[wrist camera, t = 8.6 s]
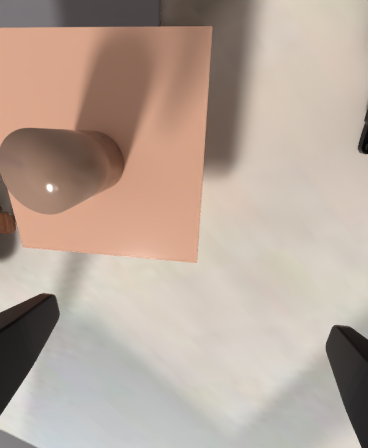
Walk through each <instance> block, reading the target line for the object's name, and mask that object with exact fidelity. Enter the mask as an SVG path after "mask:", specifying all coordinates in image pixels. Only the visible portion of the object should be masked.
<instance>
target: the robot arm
mask: <svg viewBox="0 0 368 448" xmlns="http://www.w3.org/2000/svg"><path fill="white" fill-rule="evenodd" d="M364 121H365V126H364V129H363V132H362V136H361V139H360V142H359V145H358V150H359V152H360V153H363V154H368V149H367V150H366V145H367V144H368V110H367V113H366V116H365V120H364ZM59 315H60V312H59V308H58V303H57V299H56V296H55V295H53V294H46V293H42V294H39V295H37V296H35V297H33V298H31V299H28V300H26V301H24V302H22V303H20V304H18V305H16V306H13V307H11V308H9V309H7V310H5V311H3V312H1V313H0V415H1V414H2V412H3V411H4V409H5V408H6V406H7V405H8V403H9V402H10V400H11V399H12V397H13V396H14V394H15V393H16V391H17V390H18V388H19V387H20V385H21V384H22V382H23V380H24V379H25V377H26V376H27V374H28V373H29V371H30V370H31V368H32V367H33V365H34V363H35V361H36V360H37V358H38V356H39V354H40V353H41V351H42V349H43V347H44V345H45V343H46V342H47V340H48V338H49V336H50V334H51V332H52V331H53V329H54V327H55V325H56V323H57V321H58V319H59ZM326 353H327V356H328V359H329V362H330V365H331V368H332V371H333V374H334V377H335V380H336V383H337V386H338V389H339V392H340V395H341V398H342V401H343V404H344V406H345V409H346V412H347V414H348V417H349V419H350V421H351V424H352V426H353V428H354V431H355V433H356V435H357V438H358V440H359V442H360V445H361V447H362V448H368V339H366V338H365V337H364V336H362V335H361V334H360V333H358V332H357V331H355V330H354V329H353V328H351V327H349V326H342V325H334V326H333V327H332V329H331V332H330V334H329V337H328V340H327V342H326Z"/></svg>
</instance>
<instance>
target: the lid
mask: <svg viewBox="0 0 368 448" xmlns="http://www.w3.org/2000/svg"><path fill="white" fill-rule="evenodd" d="M211 46H212V26H165V27H30V28H0V174H1V177H2V179H3V182H4V184H5V185H6V187H7V189H8V193H9V197H10V201H11V204H12V208H13V212H14V215H15V219H16V223H17V227H18V230H19V234H20V238H21V242H22V245H23V247H26V248H38V249H49V250H60V251H71V252H82V253H93V254H104V255H115V256H127V257H138V258H149V259H160V260H171V261H182V262H193V263H197V257H198V242H199V227H200V212H201V197H202V182H203V167H204V152H205V136H206V121H207V106H208V91H209V76H210V61H211Z"/></svg>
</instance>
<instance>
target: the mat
mask: <svg viewBox="0 0 368 448" xmlns="http://www.w3.org/2000/svg"><path fill="white" fill-rule="evenodd" d="M30 27H160V0H0V28H30Z"/></svg>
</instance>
